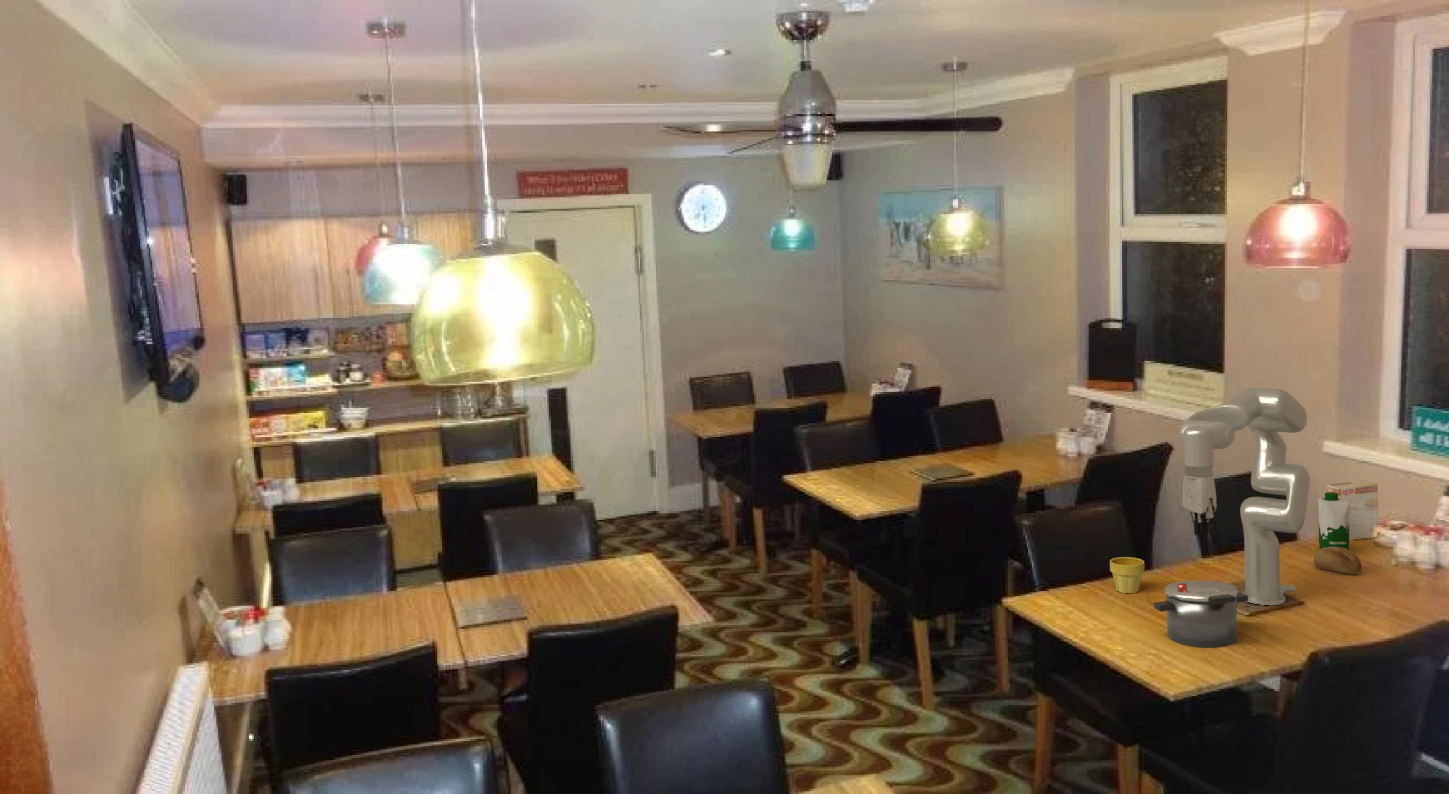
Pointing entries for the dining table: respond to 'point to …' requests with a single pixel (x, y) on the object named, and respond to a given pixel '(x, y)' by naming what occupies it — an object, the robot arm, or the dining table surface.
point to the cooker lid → (1202, 591)
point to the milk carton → (1333, 521)
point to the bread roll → (1337, 560)
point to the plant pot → (1127, 573)
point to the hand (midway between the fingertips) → (1201, 534)
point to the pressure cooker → (1201, 621)
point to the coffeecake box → (1359, 506)
